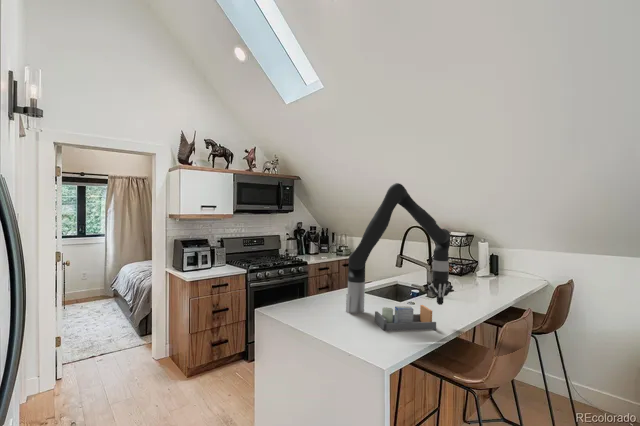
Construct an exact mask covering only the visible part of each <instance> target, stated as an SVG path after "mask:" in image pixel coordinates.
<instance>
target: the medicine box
mask: <svg viewBox="0 0 640 426" xmlns="http://www.w3.org/2000/svg"><path fill="white" fill-rule="evenodd" d="M414 311H415V309H414V308H413V307H412V306H410V305H397V306H396V305H395V306H394V315H395V320H394V323H413V314H414Z"/></svg>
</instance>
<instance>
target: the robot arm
mask: <svg viewBox="0 0 640 426" xmlns="http://www.w3.org/2000/svg"><path fill="white" fill-rule="evenodd" d="M398 205H399V206H401V207H402V208H403V209H404V210H406V211H407V212H408V214H409V215H410V216H412V218H413V219H414V221H415V222H416V223H418V225H419V226H420V227H421V228H422V229H424V231H425V232H426V234H427V235H428V237H429V238H430V239H431V240H432V241H433V242H434V243H435V248H434V249H433V254H432V255H433V258H432V259H433V260H432V275H431V276H432V277H431V278H432V281H431V284H430V285H429V284H427V289H429V291H430V292H431V294H432V295H433V296H435V297H436V303H437V305H439V306H441V305H443V304H444V298H445V297H447V296H448V295H449V293H451V291H452V289H453V288H454V286H453V285H451V284H450V282H449V277H450V276H449V275H450V272H449V271H450V263H449V254H450V253H449V250H450V245H451V233H450V231H449V230H448V229H445V228H441V227H440V226H439V225H438V223H437V221H436V220H435V218H434V217H433V216H432V215H430V214H429V213H428V212H427V211H426V210H425V209H424V208H422V206H420V205H419V204H418V203H417V202H416V201H415V200H414V199H413V198H412V197H411V195H410V194H409V193H408V191H407V189H406V188H405V186H404V185H403V184H402V183H399V182H395V183H393V184H392V185H390V186H389V187H388V189H387V191H386V194H385V195H384V198H383V200H382V202H381V204H380V206H379V207H378V208H377V210H376V212H375V213H374V215H373V217H372V218H371V220H370V221H369V222H368V224H367V227H366V228H365V230H364V233H363V235H362V237H361V240H360V241H359V243H358V245H357V247H356V248H355V250H354V251H352V252H351V253H350V255H348V256H349V257H348V260H347V261H348V268H347V269H348V270H347V272H348V273H347V293H346V296H345V297H346V299H345V301H346V302H345V304H346V305H345V312H346V313H347V314H355V315H360V314H361V315H362V314H364V313H365V296H366V295H365V291H366V263H367V261H368V259H369V257H370V254H371V252H372V251H373V249H374V247H376V245H377V244H378V242H379V241H380V240H381V238H382V236H383V235H384V233H385V232H386V230H387V228H388V226H389V224H390V221H391V217H392V215H393V211H394V209H395V208H396V207H397V206H398Z"/></svg>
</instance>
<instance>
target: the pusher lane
mask: <svg viewBox="0 0 640 426" xmlns="http://www.w3.org/2000/svg"><path fill="white" fill-rule="evenodd" d="M394 320H395V314H393V323H387V320H386V319H385V318H384V317H383V316H382V313H380V312H379V311H376V310H375V311H374V323H376V324H377V325H378V327H379V328H380V329H382V331H383V332H389V331H391V332H392V331H393V332H394V331H415V330H433V331H437V321H432V322H421V321H420V313H415V314H414V313H413V323H394Z"/></svg>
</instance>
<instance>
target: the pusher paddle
mask: <svg viewBox="0 0 640 426" xmlns="http://www.w3.org/2000/svg"><path fill="white" fill-rule="evenodd" d="M419 306H420V308H419V309H420V310H419V314H420V321H421V322H433V310H432V309H430V308H428V307H427V306H425V305H423V304H420V305H419Z"/></svg>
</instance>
